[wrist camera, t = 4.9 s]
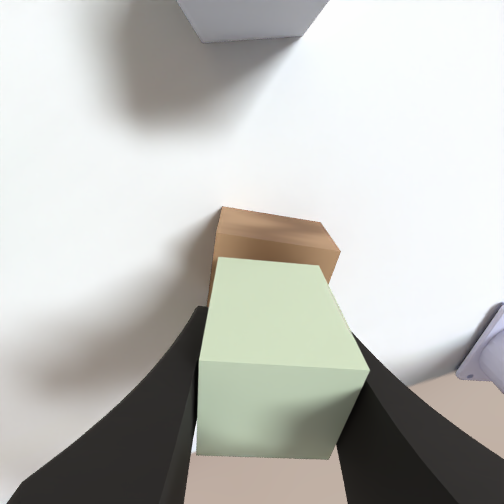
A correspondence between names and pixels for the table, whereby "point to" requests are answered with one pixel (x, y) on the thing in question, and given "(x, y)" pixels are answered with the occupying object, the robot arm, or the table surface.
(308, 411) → the sage block
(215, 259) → the walnut plinth
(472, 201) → the table surface
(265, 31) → the slate block
